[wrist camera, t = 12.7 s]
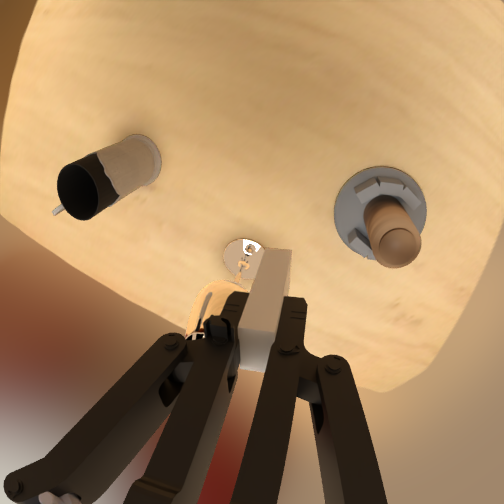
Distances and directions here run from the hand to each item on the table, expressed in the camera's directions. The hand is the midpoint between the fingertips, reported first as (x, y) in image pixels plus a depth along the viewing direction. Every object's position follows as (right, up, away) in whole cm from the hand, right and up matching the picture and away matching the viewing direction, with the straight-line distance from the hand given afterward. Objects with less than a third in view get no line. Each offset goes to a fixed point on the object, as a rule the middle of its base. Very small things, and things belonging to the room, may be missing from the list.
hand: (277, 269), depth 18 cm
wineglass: (-2, 0, +32) cm, 32 cm away
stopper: (+17, +6, +22) cm, 29 cm away
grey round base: (+17, +7, +23) cm, 29 cm away
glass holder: (-22, +15, +28) cm, 39 cm away
